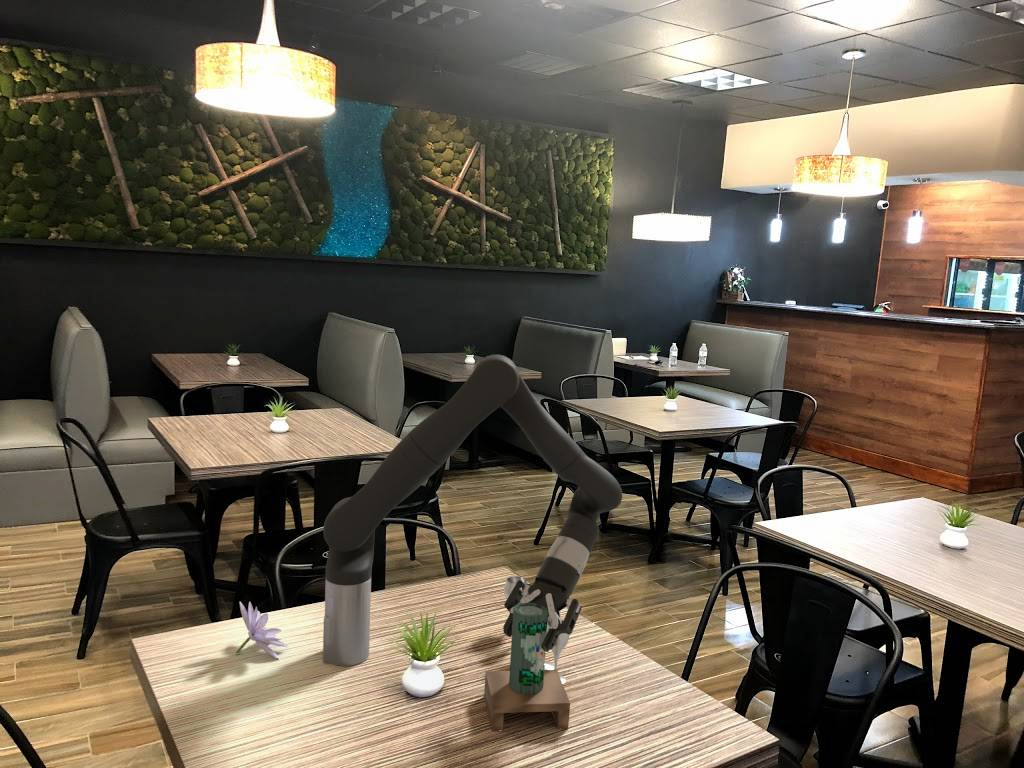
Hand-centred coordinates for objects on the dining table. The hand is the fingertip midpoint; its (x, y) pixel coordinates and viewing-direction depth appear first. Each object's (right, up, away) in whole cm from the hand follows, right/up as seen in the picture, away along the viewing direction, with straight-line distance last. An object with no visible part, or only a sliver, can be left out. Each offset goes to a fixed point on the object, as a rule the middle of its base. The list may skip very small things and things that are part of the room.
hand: (525, 642), depth 147 cm
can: (0, -9, +3) cm, 10 cm away
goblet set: (+2, -11, +26) cm, 29 cm away
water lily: (-54, -9, +20) cm, 59 cm away
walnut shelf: (0, -14, +3) cm, 14 cm away
